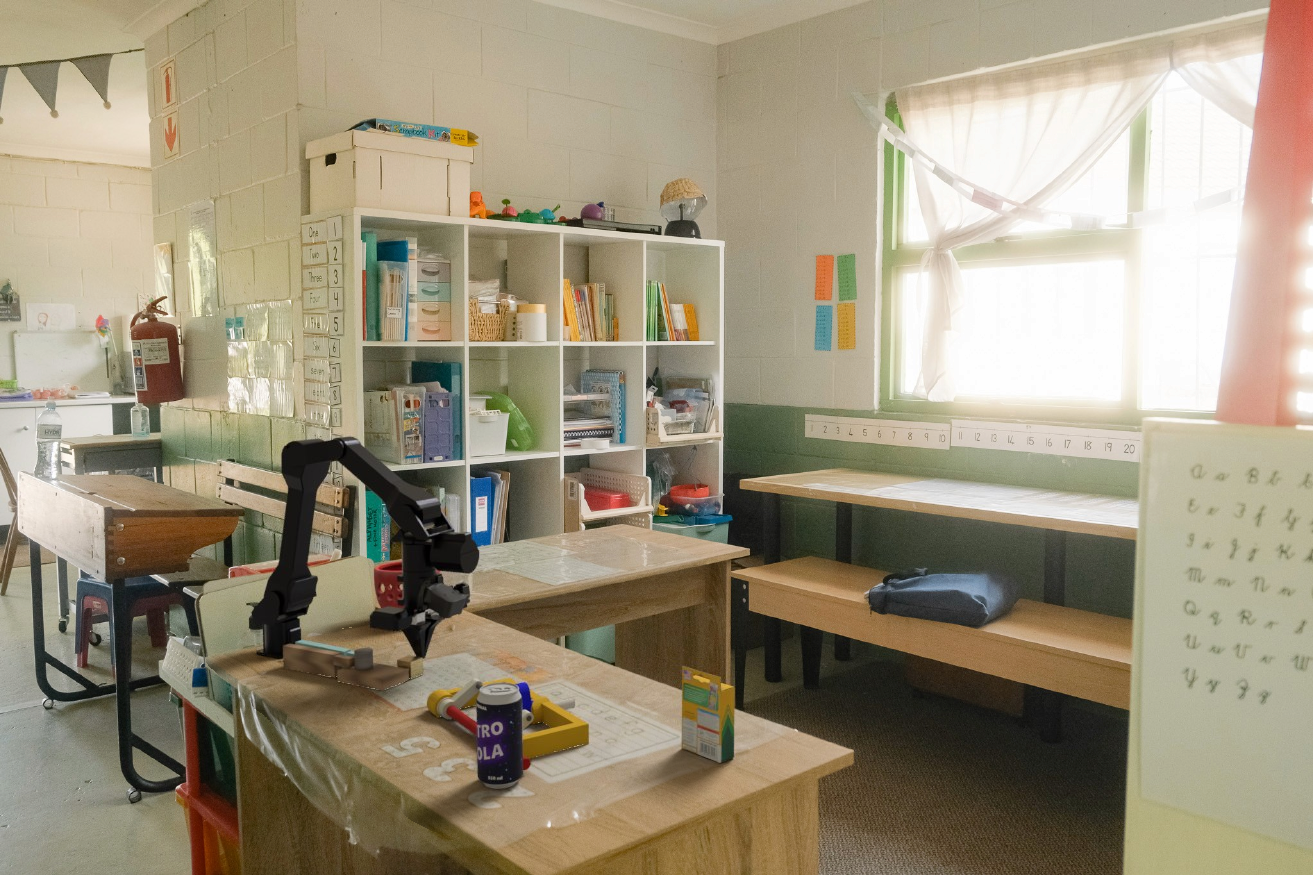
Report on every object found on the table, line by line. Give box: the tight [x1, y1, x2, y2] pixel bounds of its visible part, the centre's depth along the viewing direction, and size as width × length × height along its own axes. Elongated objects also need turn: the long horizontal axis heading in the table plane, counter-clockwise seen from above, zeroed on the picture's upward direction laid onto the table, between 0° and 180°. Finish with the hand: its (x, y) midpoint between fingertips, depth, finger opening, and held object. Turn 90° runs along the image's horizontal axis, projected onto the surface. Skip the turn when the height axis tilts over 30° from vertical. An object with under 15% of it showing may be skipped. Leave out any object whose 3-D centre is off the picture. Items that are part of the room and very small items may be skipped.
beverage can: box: [475, 683, 524, 790], centre depth 123 cm, size 6×6×12 cm
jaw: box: [295, 639, 355, 669], centre depth 169 cm, size 15×2×4 cm, turn 60°
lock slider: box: [396, 654, 424, 679], centre depth 166 cm, size 3×3×3 cm
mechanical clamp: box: [426, 677, 590, 771], centre depth 142 cm, size 18×6×30 cm
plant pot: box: [373, 560, 441, 611], centre depth 200 cm, size 13×13×12 cm
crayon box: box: [681, 665, 736, 764], centre depth 132 cm, size 7×3×12 cm, turn 44°
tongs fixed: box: [282, 644, 409, 691], centre depth 166 cm, size 24×6×5 cm, turn 62°
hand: (421, 658), depth 168 cm, fingers closed
